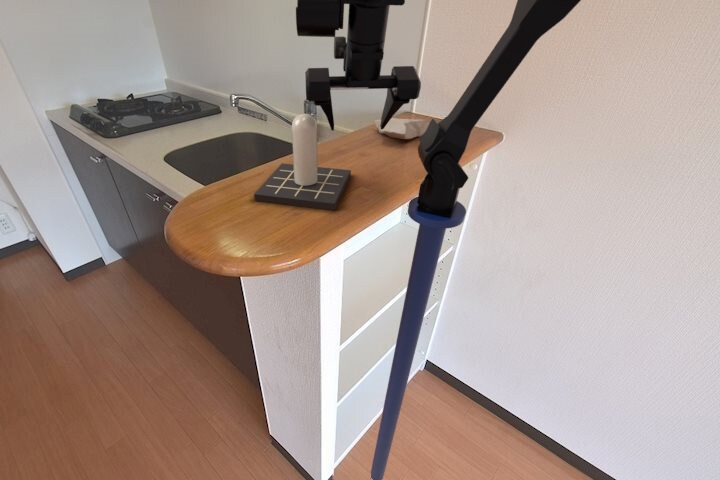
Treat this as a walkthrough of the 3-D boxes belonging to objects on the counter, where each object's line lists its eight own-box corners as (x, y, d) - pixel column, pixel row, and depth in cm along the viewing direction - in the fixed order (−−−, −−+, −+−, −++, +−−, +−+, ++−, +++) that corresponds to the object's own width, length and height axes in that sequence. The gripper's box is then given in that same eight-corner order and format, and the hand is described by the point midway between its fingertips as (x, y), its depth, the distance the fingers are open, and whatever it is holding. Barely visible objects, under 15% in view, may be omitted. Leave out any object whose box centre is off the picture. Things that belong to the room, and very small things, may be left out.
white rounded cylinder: (321, 178, 73) (321, 112, 65) (310, 187, 70) (309, 119, 62) (301, 174, 75) (299, 109, 67) (289, 182, 72) (285, 115, 64)
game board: (350, 176, 78) (350, 169, 77) (334, 210, 66) (334, 203, 65) (282, 169, 81) (281, 162, 80) (254, 200, 69) (253, 193, 68)
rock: (353, 139, 98) (401, 146, 89) (353, 122, 96) (402, 127, 87) (393, 128, 112) (438, 132, 103) (394, 112, 109) (440, 115, 101)
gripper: (417, 13, 58) (399, 103, 71) (303, 14, 57) (306, 105, 70) (432, 45, 51) (409, 137, 64) (304, 47, 51) (307, 140, 64)
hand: (357, 128), depth 66 cm, fingers open, 9 cm apart
